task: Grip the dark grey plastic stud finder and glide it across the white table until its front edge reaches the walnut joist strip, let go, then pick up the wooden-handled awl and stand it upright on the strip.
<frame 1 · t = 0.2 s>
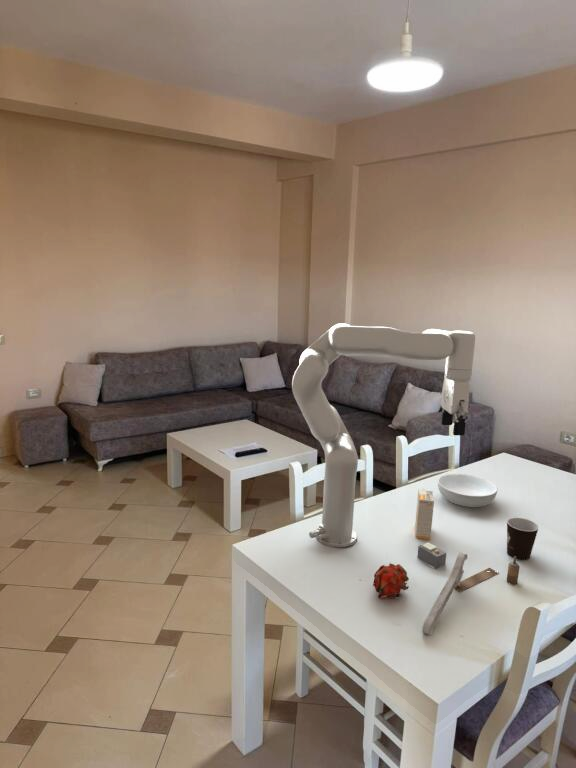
hand: (452, 429, 161), 37 cm above the table, tool pointing down, fingers open, 9 cm apart
supplement box: (422, 533, 174), on the table
serving bowl: (465, 501, 198), on the table
wrench: (445, 604, 137), on the table, touching joist strip
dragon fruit: (389, 594, 141), on the table
stud finder: (431, 561, 157), on the table
awl: (511, 581, 148), on the table
coffee mug: (519, 553, 164), on the table
joist strip: (475, 579, 149), on the table
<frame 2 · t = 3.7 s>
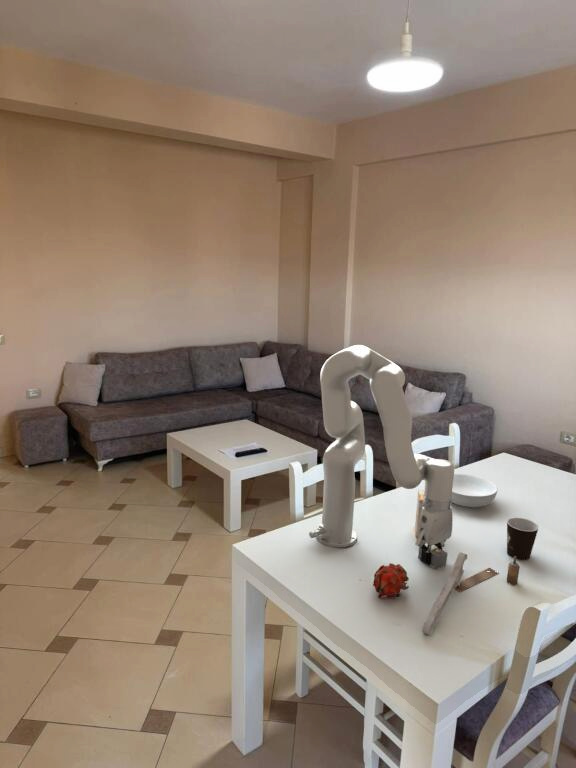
hand: (431, 560, 157), 0 cm above the table, tool pointing down, fingers closed on stud finder, 4 cm apart
stud finder: (431, 561, 157), on the table, touching gripper
everything else where it was.
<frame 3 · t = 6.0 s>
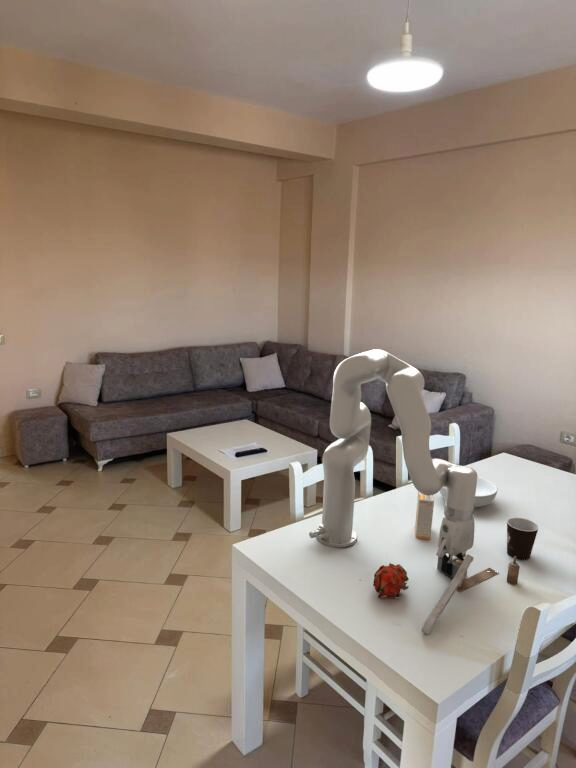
hand: (451, 570, 151), 1 cm above the table, tool pointing down, fingers closed on stud finder, 4 cm apart
stud finder: (451, 572, 151), on the table, touching gripper
when the fingers open (1 cm above the table, at t = 6.7 s): stud finder stays where it is, on the table.
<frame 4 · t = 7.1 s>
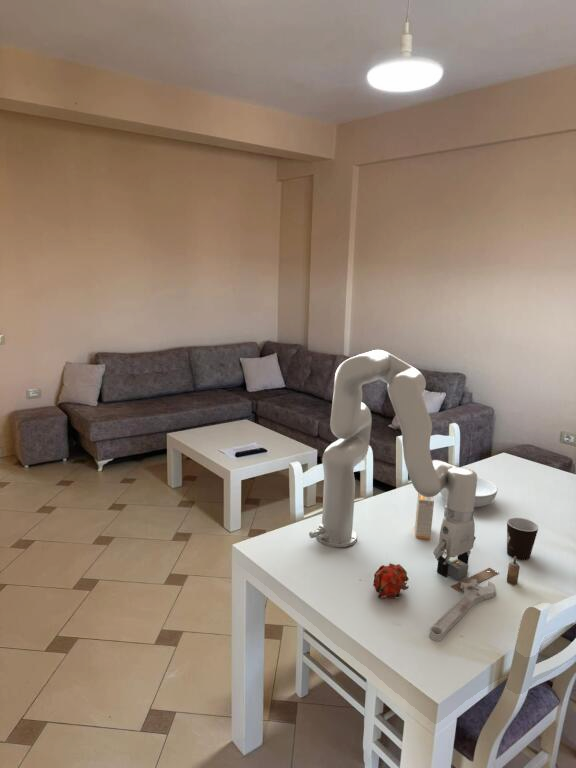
hand: (452, 570, 151), 1 cm above the table, tool pointing down, fingers open, 8 cm apart
wrench: (448, 602, 137), point 1 cm above the table, touching joist strip
stud finder: (452, 574, 151), on the table
everything else where it was.
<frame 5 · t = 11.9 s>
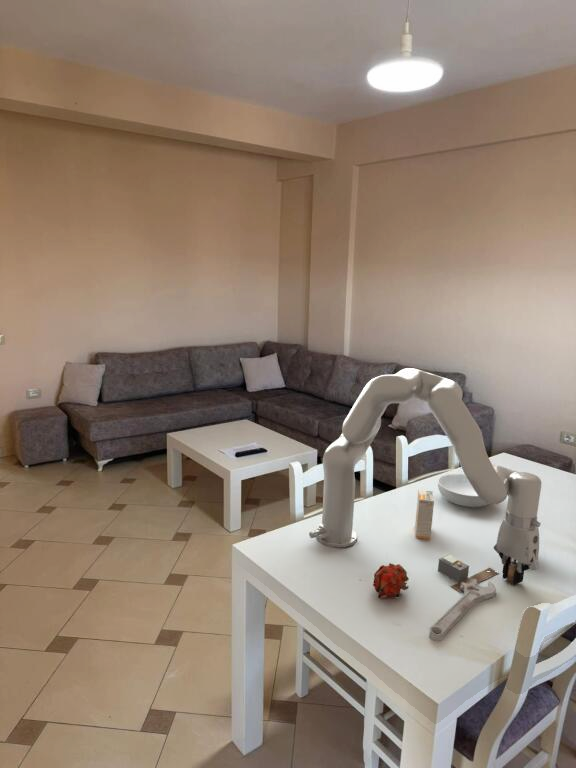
hand: (512, 579, 148), 1 cm above the table, tool pointing down, fingers closed on awl, 2 cm apart
awl: (511, 581, 148), on the table, touching gripper
everything else where it was.
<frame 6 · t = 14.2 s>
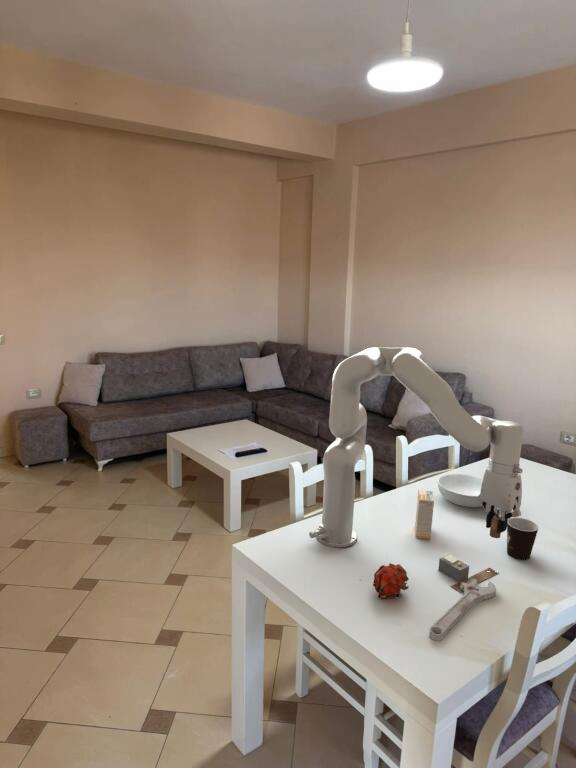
hand: (495, 528, 149), 14 cm above the table, tool pointing down, fingers closed on awl, 2 cm apart
awl: (494, 535, 150), point 12 cm above the table, touching gripper
everything else where it was.
when the fingers open (2 cm above the table, at t = 16.9 s): awl stays where it is, resting on joist strip.
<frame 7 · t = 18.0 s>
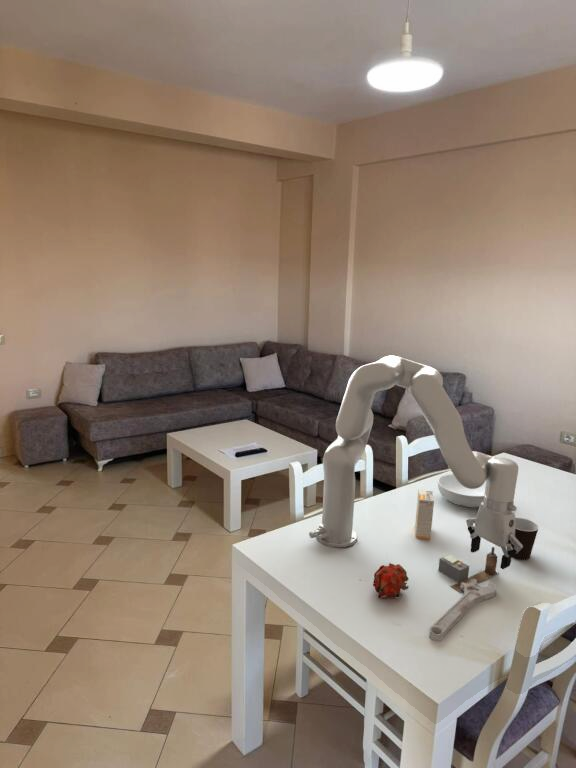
hand: (489, 559, 151), 4 cm above the table, tool pointing down, fingers open, 9 cm apart
awl: (490, 572, 152), resting on joist strip
everything else where it was.
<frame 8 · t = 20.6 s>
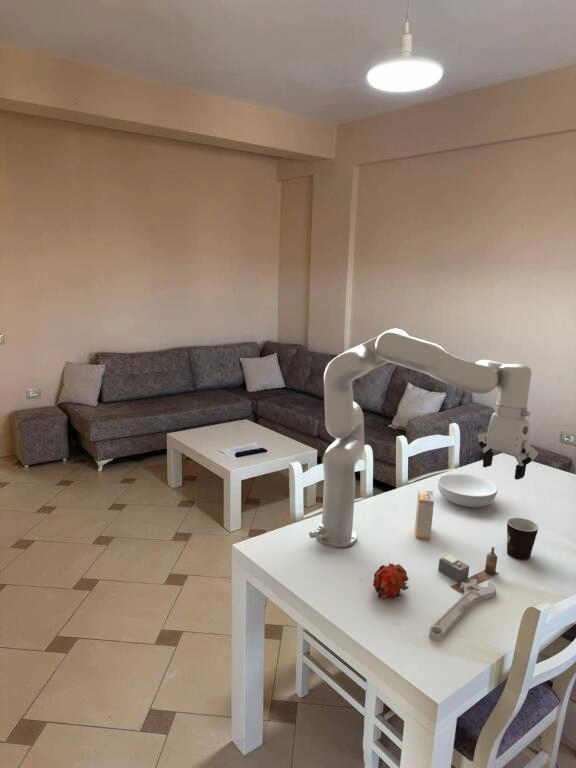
hand: (502, 472, 145), 30 cm above the table, tool pointing down, fingers open, 9 cm apart
nothing on the table moved.
at the end: stud finder inside the target area (0.5 cm from its centre), on the table; awl inside the target area on the joist strip (0.1 cm from its centre), point 0.2 cm above the joist strip's base; awl tilted 0° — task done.
